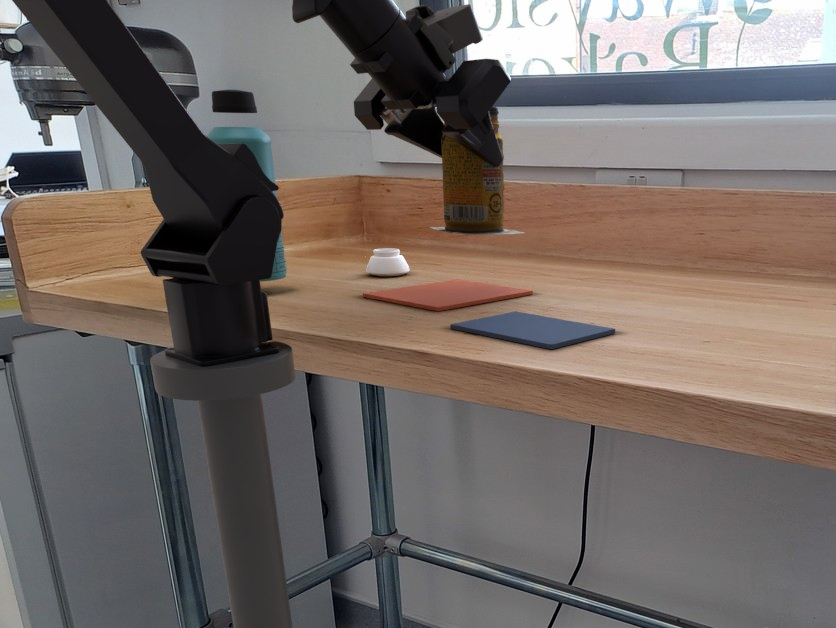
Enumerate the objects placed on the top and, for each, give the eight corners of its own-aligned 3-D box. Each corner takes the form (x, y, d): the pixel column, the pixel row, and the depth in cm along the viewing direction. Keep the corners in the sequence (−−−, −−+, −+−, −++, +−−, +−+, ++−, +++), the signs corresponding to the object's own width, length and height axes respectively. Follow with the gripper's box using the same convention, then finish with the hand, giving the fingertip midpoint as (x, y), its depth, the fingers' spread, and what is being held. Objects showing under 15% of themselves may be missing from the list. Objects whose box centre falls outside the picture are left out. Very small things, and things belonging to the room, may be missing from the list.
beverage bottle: (277, 284, 96) (253, 92, 89) (299, 292, 91) (276, 89, 84) (217, 290, 92) (187, 89, 85) (237, 299, 87) (207, 87, 80)
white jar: (362, 277, 101) (404, 277, 101) (360, 252, 100) (402, 252, 100) (373, 271, 106) (413, 271, 106) (371, 247, 105) (411, 247, 105)
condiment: (494, 227, 92) (491, 107, 88) (526, 235, 85) (525, 104, 81) (428, 229, 88) (422, 104, 84) (456, 237, 81) (451, 101, 77)
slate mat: (551, 349, 67) (551, 344, 67) (450, 328, 74) (450, 324, 74) (615, 333, 73) (615, 328, 73) (515, 315, 80) (515, 311, 80)
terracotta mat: (438, 311, 82) (437, 307, 82) (362, 297, 89) (362, 293, 89) (532, 294, 91) (532, 290, 91) (458, 282, 98) (457, 279, 98)
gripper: (489, -49, 70) (586, 101, 81) (372, -21, 83) (469, 106, 94) (413, 47, 68) (523, 190, 79) (303, 62, 80) (412, 183, 91)
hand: (480, 163), depth 86 cm, fingers closed on condiment, 6 cm apart
